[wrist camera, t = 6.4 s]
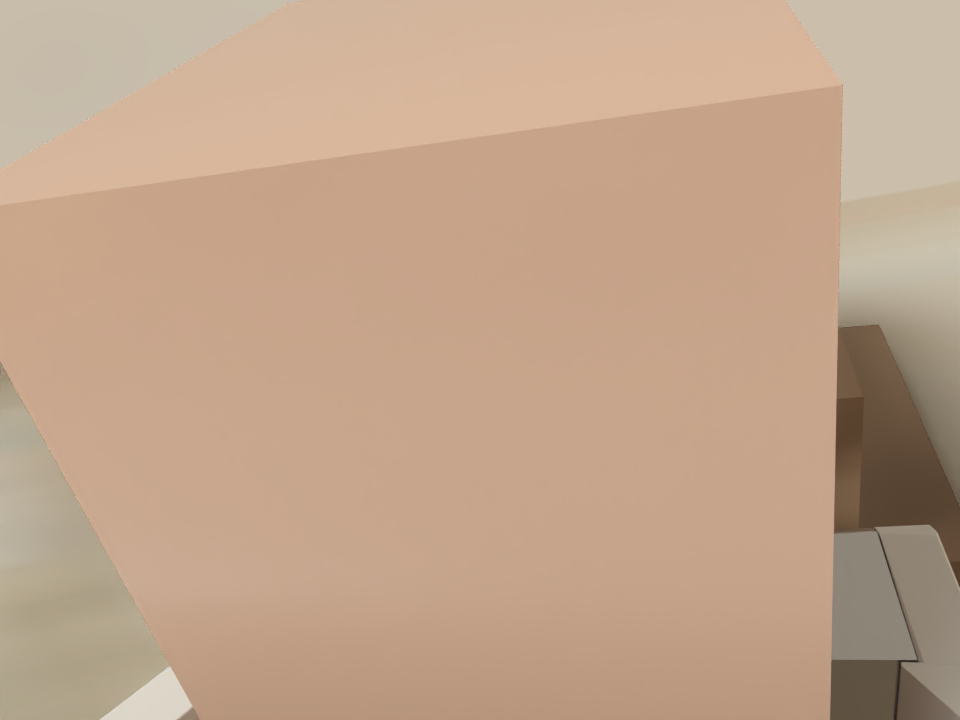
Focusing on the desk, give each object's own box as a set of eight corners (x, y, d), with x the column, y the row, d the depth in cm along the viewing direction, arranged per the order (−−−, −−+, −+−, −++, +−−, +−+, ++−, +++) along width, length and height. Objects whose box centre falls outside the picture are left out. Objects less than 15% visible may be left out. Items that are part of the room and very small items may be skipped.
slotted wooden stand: (364, 620, 20) (294, 432, 18) (439, 400, 28) (399, 244, 25) (975, 615, 17) (1007, 388, 15) (876, 370, 25) (885, 188, 22)
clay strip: (486, 1231, 11) (-78, 217, 4) (529, 841, 15) (287, 3, 8) (818, 1285, 10) (843, 86, 3) (768, 854, 14) (730, -81, 7)
